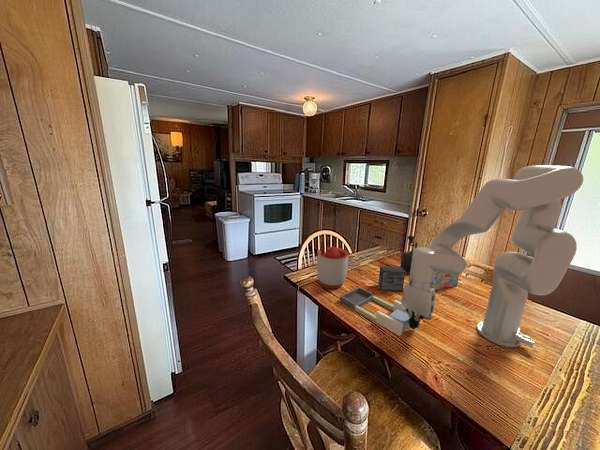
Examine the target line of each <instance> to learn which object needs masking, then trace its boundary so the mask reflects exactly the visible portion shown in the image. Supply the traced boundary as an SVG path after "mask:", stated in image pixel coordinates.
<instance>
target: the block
mask: <svg viewBox="0 0 600 450" xmlns="http://www.w3.org/2000/svg"><path fill="white" fill-rule="evenodd" d="M388 316H390V317H392V318H394V319H395V320H397V321H399V322H401V323H403V329H402V332H404V331H405V330H407V328H409V325H410V324H409V319H410V317H409V316H408V314H406V313H404V312H402V311H400V310H398V309H397V310H396V311H393V312H391V313H390V314H389V315H388Z"/></svg>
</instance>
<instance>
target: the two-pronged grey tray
mask: <svg viewBox="0 0 600 450" xmlns="http://www.w3.org/2000/svg"><path fill="white" fill-rule="evenodd" d="M372 301H373V302H375V303H377V304H379V305H382V306H383V307H385V308H388V309H389V310H391V311H393V312H394V311H396V310H397V309H398V310H400V311H402V312H404V313H406V314H408V313H407V311H406V310H405V309H403V308H402V307H401V305H402V304H401V301H400V300H397V299H394V300H393V303H391V302H389V301H386V300H384V299H382V298H380V297H377V296H376V295H374V293H373V292H371V291H369V290H368V289H364V288H363V287H361V286H358V287H356V288H354V289H352V290H350V291H348V292H346V293H345V292H344V293H343V294H342V295H340V296H339V302H341V303H342V304H344V305H345V306H348V307H350V309H353V310H354V311H356V312H358V313H360V314H361V315H363V316H365V317H366V318H368V319H370V320H372V321H373V322H375V323H377V324H378V325H380V326H381V327H383V328H385V329H387V330H389V331H390V332H392V333H394V334H395V335H397V336H399V337H400V336H402V335H403V331H402V329H403V323H401V322H399V321H397V320H395V319H394V318H392V317H390V316H389V315H387V314H386V313H384V312H382V311H380V310H377V311H376V314H373V313H371V312H370V311H368V310H367V309H364V308H363V307H362V306H364V305H366V304H368V303H370V302H372ZM416 314H417V313H415V316H416Z"/></svg>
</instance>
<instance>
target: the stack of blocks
mask: <svg viewBox="0 0 600 450" xmlns="http://www.w3.org/2000/svg"><path fill="white" fill-rule="evenodd" d="M459 279H460V273H459V274H455V275H451V274H445V273H440V272H435V274H434V280H433V281H434V284H435V285H437V288H436V289H435V288H434V289H435V291H437V290H441V289H446V288H451V287H455V286H458V285H459V283H458V282H459Z"/></svg>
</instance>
